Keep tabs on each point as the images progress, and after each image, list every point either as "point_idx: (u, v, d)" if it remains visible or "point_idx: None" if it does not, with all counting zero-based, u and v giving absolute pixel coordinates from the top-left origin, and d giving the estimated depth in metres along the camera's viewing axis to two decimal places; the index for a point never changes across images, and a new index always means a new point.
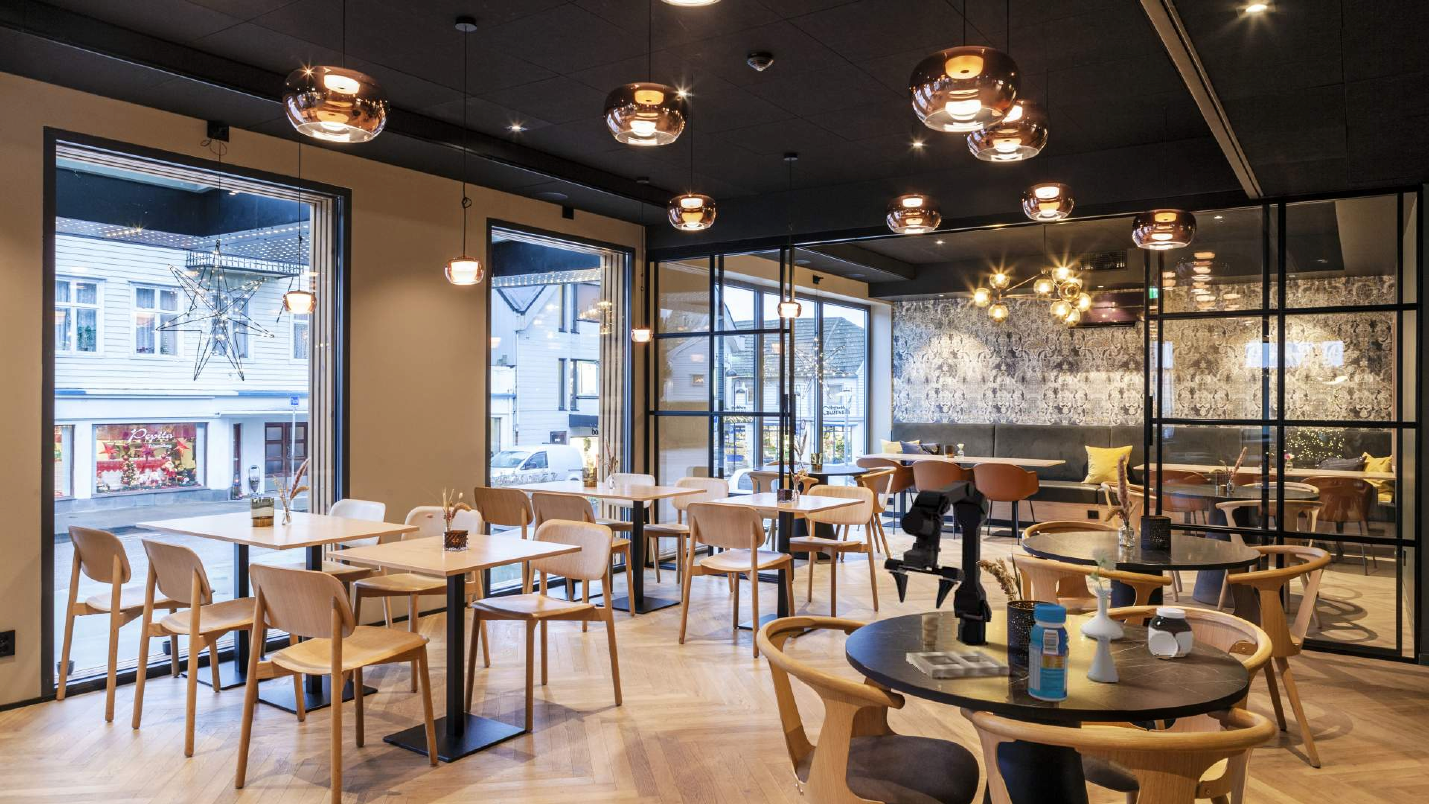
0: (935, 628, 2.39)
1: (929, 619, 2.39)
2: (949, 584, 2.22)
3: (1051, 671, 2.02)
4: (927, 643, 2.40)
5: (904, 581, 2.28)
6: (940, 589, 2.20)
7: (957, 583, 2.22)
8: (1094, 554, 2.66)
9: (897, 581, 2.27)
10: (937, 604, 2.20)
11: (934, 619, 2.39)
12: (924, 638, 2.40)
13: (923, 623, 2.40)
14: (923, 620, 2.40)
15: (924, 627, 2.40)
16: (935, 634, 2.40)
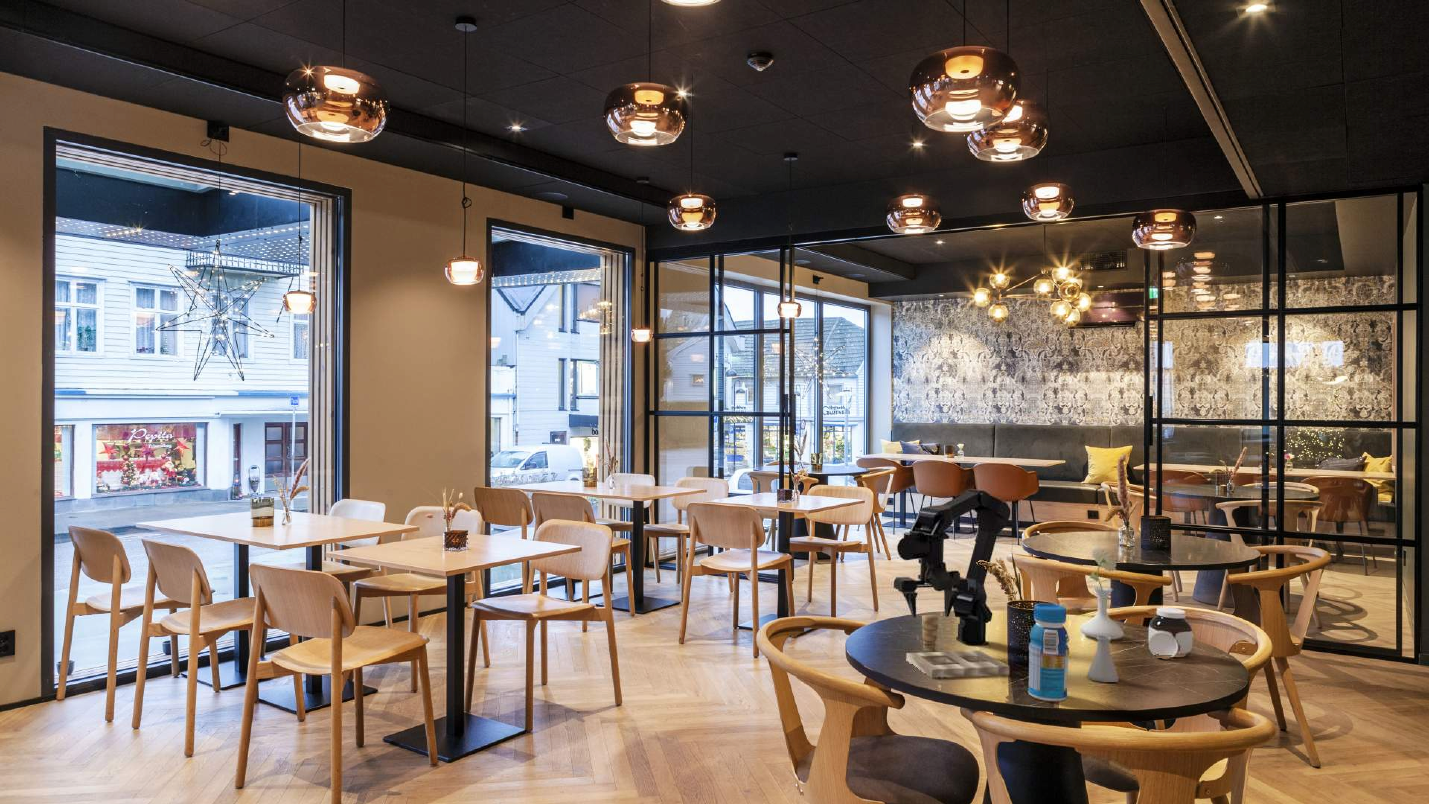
0: (935, 628, 2.39)
1: (929, 619, 2.39)
2: None
3: (1051, 671, 2.02)
4: (927, 643, 2.40)
5: None
6: (952, 600, 2.41)
7: None
8: (1094, 554, 2.66)
9: (912, 600, 2.38)
10: (948, 613, 2.41)
11: (934, 619, 2.39)
12: (924, 638, 2.40)
13: (923, 623, 2.40)
14: (923, 620, 2.40)
15: (924, 627, 2.40)
16: (935, 634, 2.40)
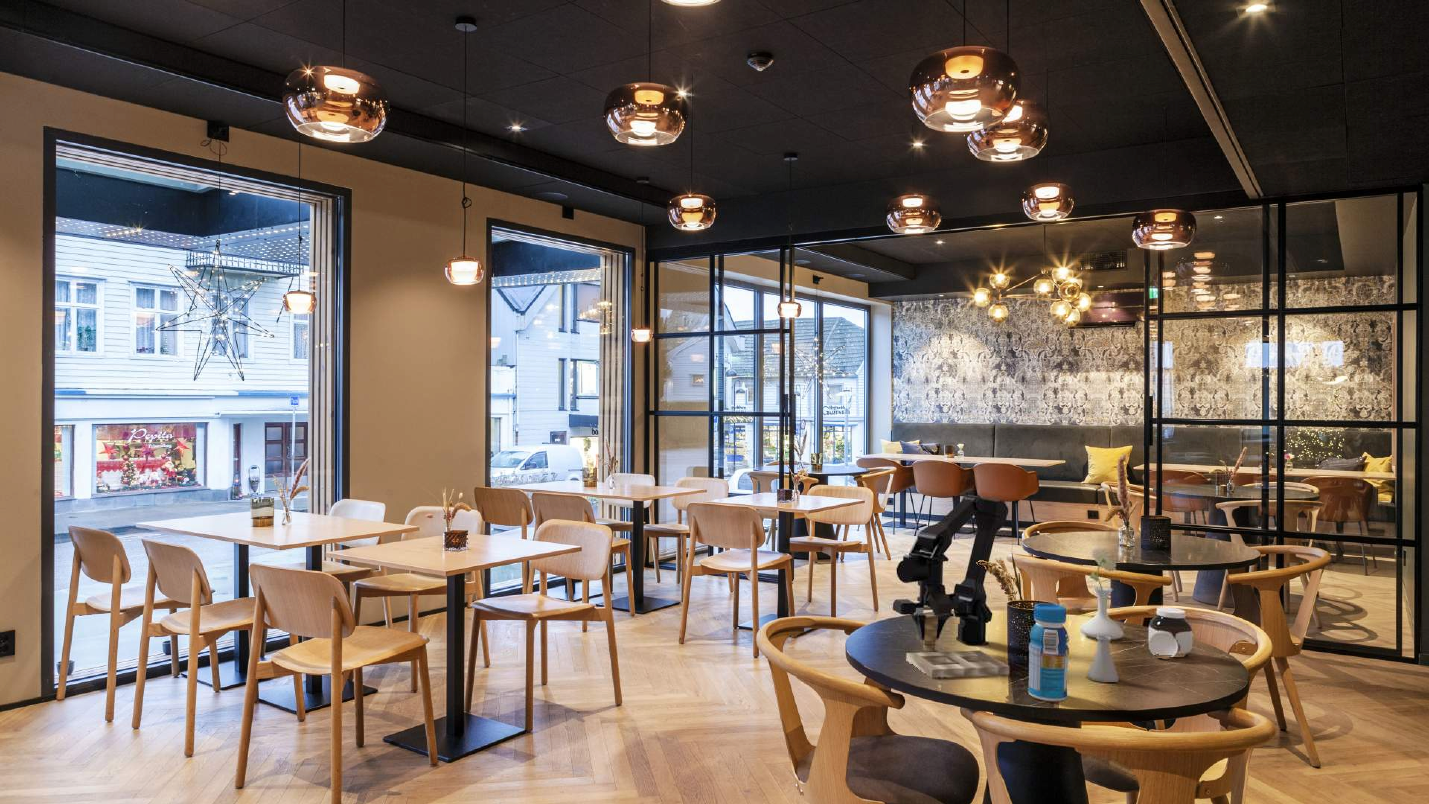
0: (935, 628, 2.39)
1: (929, 619, 2.39)
2: None
3: (1051, 671, 2.02)
4: (927, 643, 2.40)
5: None
6: (942, 622, 2.40)
7: None
8: (1094, 554, 2.66)
9: (921, 622, 2.39)
10: (938, 636, 2.41)
11: (934, 619, 2.39)
12: (924, 638, 2.40)
13: None
14: None
15: (924, 627, 2.40)
16: (935, 634, 2.40)
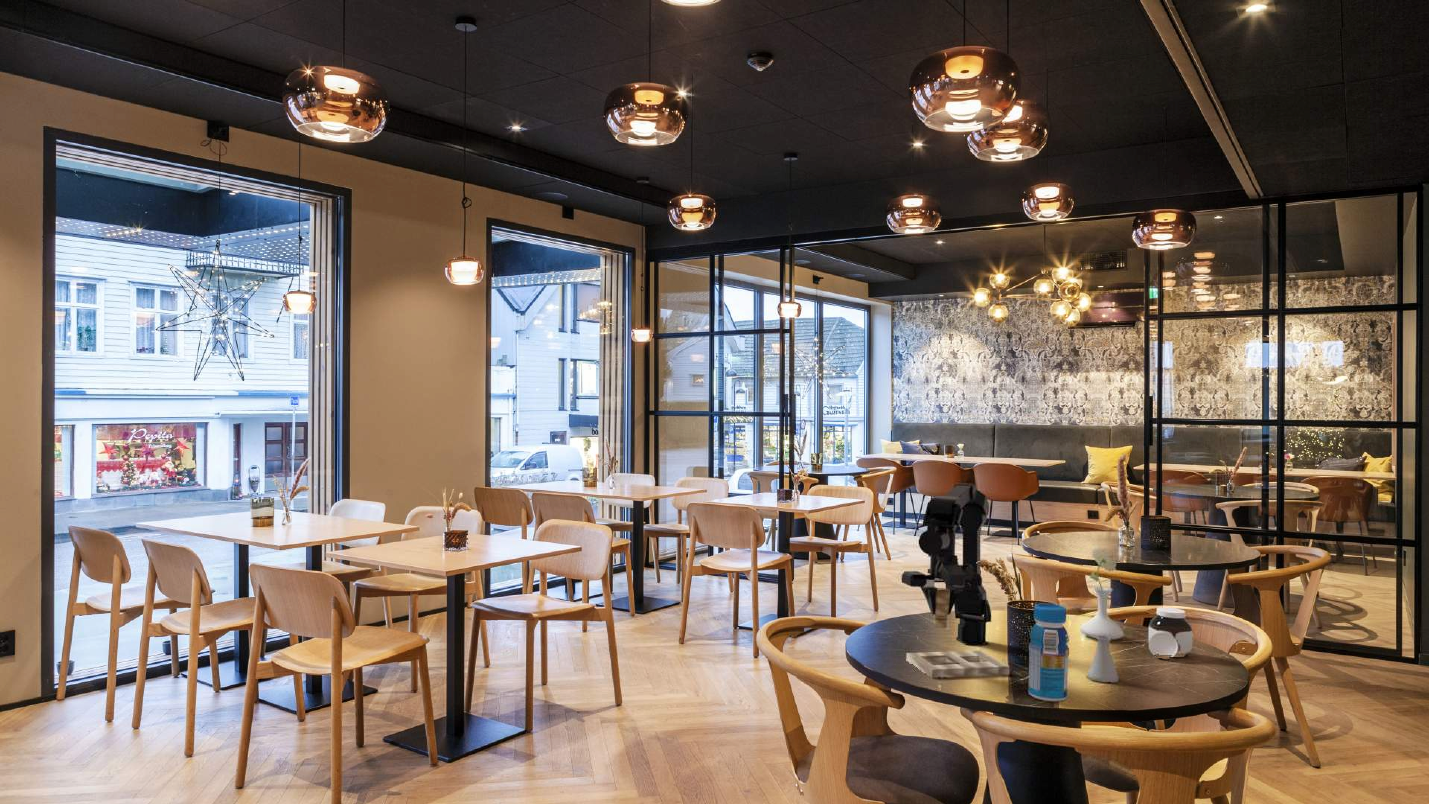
0: (947, 602, 2.24)
1: (940, 592, 2.23)
2: None
3: (1051, 671, 2.02)
4: (938, 618, 2.24)
5: None
6: (954, 596, 2.25)
7: None
8: (1094, 554, 2.66)
9: (931, 595, 2.23)
10: (950, 610, 2.25)
11: (946, 592, 2.23)
12: (935, 612, 2.24)
13: None
14: None
15: (935, 600, 2.24)
16: (947, 608, 2.24)
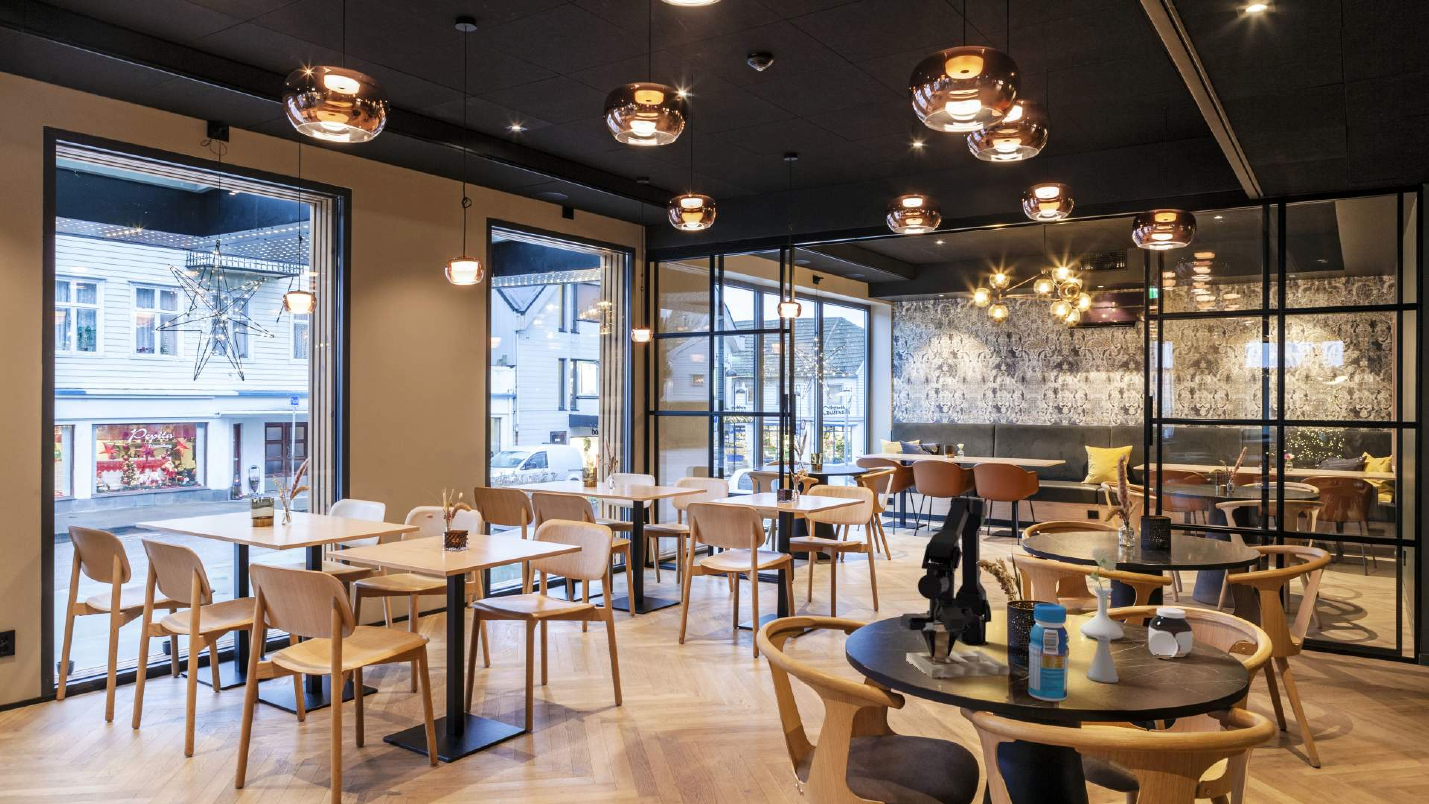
0: (946, 644, 2.24)
1: (940, 634, 2.23)
2: None
3: (1051, 671, 2.02)
4: (937, 660, 2.24)
5: None
6: (953, 638, 2.25)
7: None
8: (1094, 554, 2.66)
9: (931, 638, 2.23)
10: (949, 652, 2.25)
11: (945, 635, 2.23)
12: (934, 655, 2.24)
13: None
14: None
15: None
16: (946, 650, 2.24)
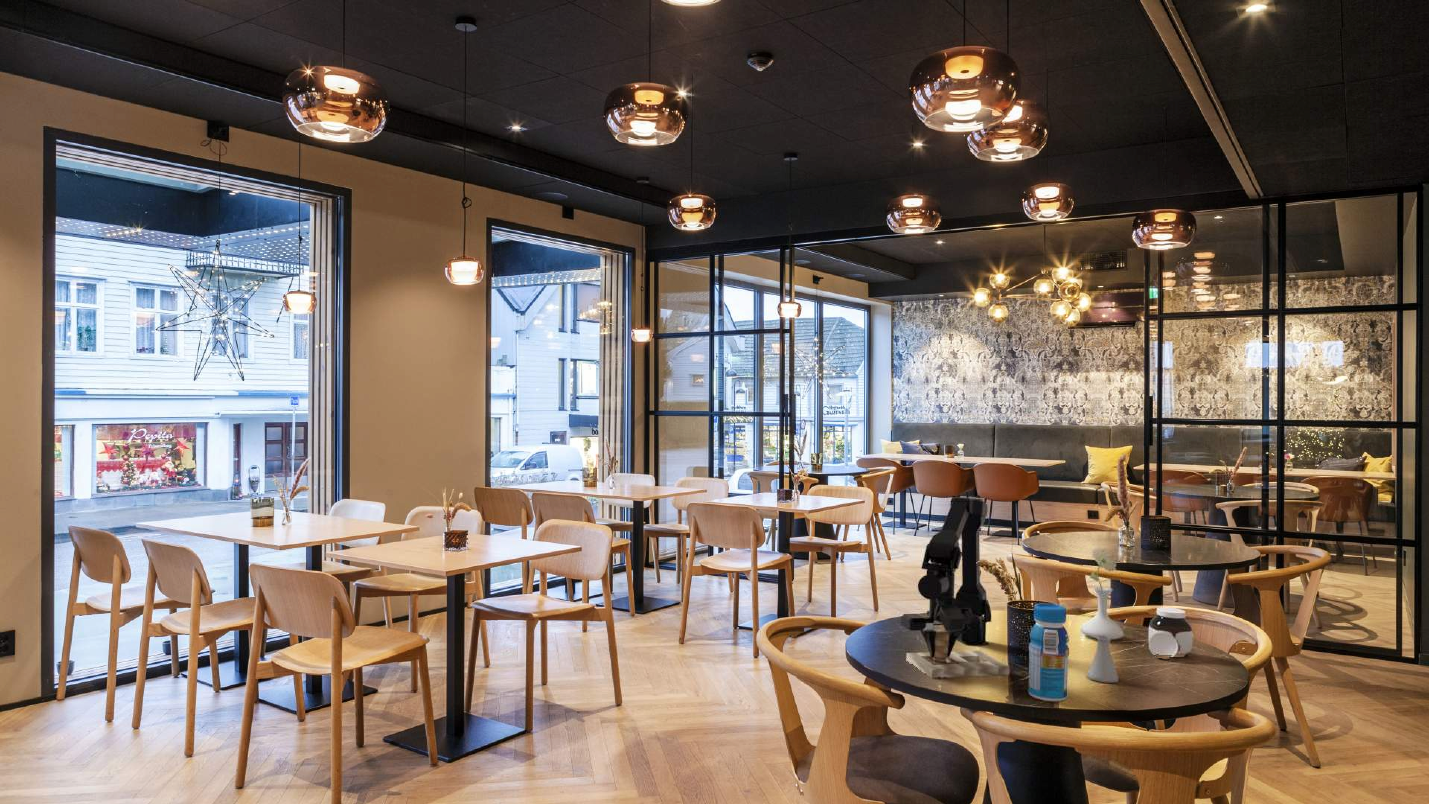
0: (946, 644, 2.24)
1: (940, 634, 2.23)
2: None
3: (1051, 671, 2.02)
4: (937, 660, 2.24)
5: None
6: (953, 638, 2.25)
7: None
8: (1094, 554, 2.66)
9: (931, 638, 2.23)
10: (949, 653, 2.25)
11: (945, 635, 2.23)
12: (934, 655, 2.24)
13: None
14: None
15: None
16: (946, 650, 2.24)
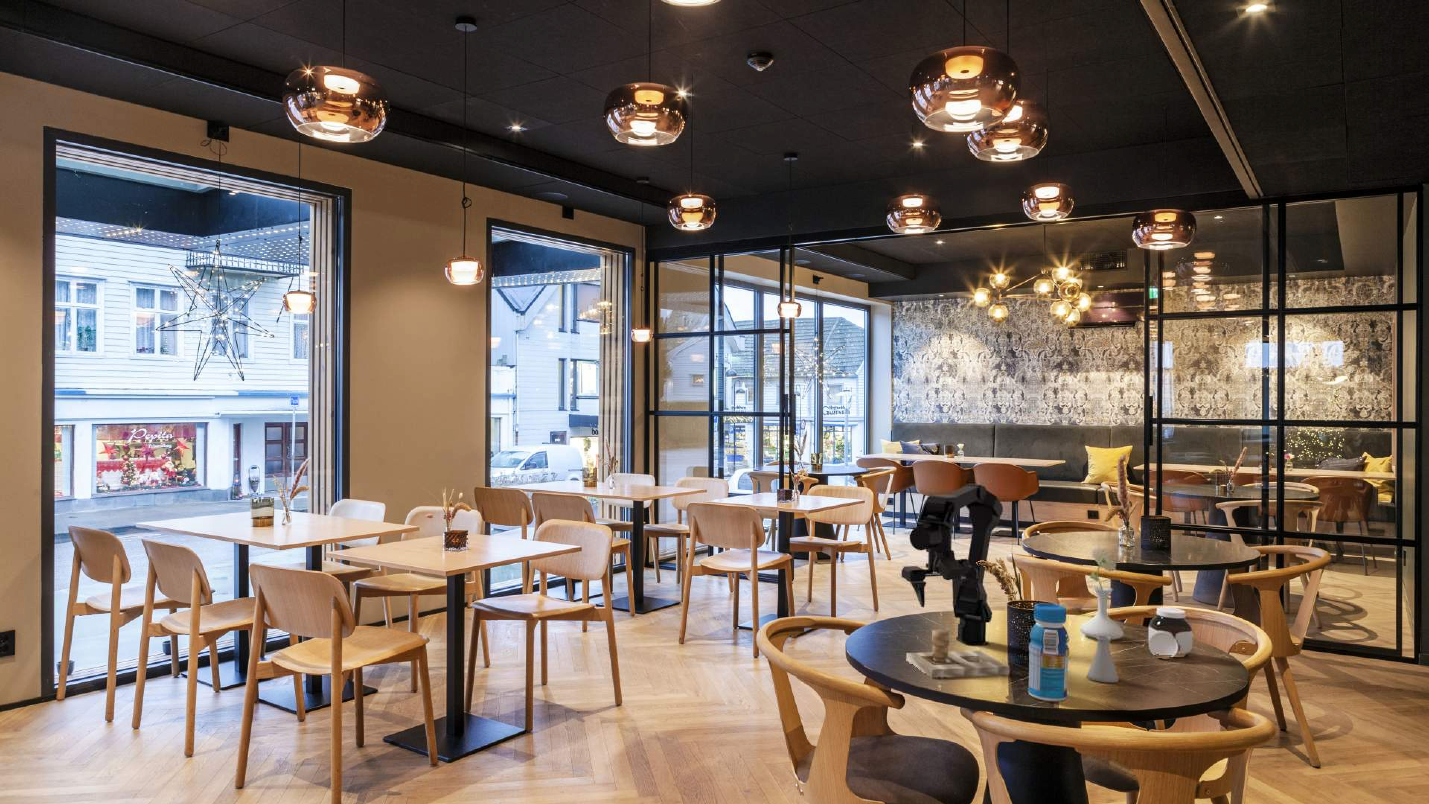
0: (946, 644, 2.24)
1: (940, 634, 2.23)
2: None
3: (1051, 671, 2.02)
4: (937, 660, 2.24)
5: None
6: (961, 588, 2.37)
7: None
8: (1094, 554, 2.66)
9: (921, 589, 2.34)
10: (957, 602, 2.38)
11: (945, 635, 2.23)
12: (934, 655, 2.24)
13: (933, 639, 2.25)
14: (933, 635, 2.25)
15: (934, 643, 2.24)
16: (946, 650, 2.24)
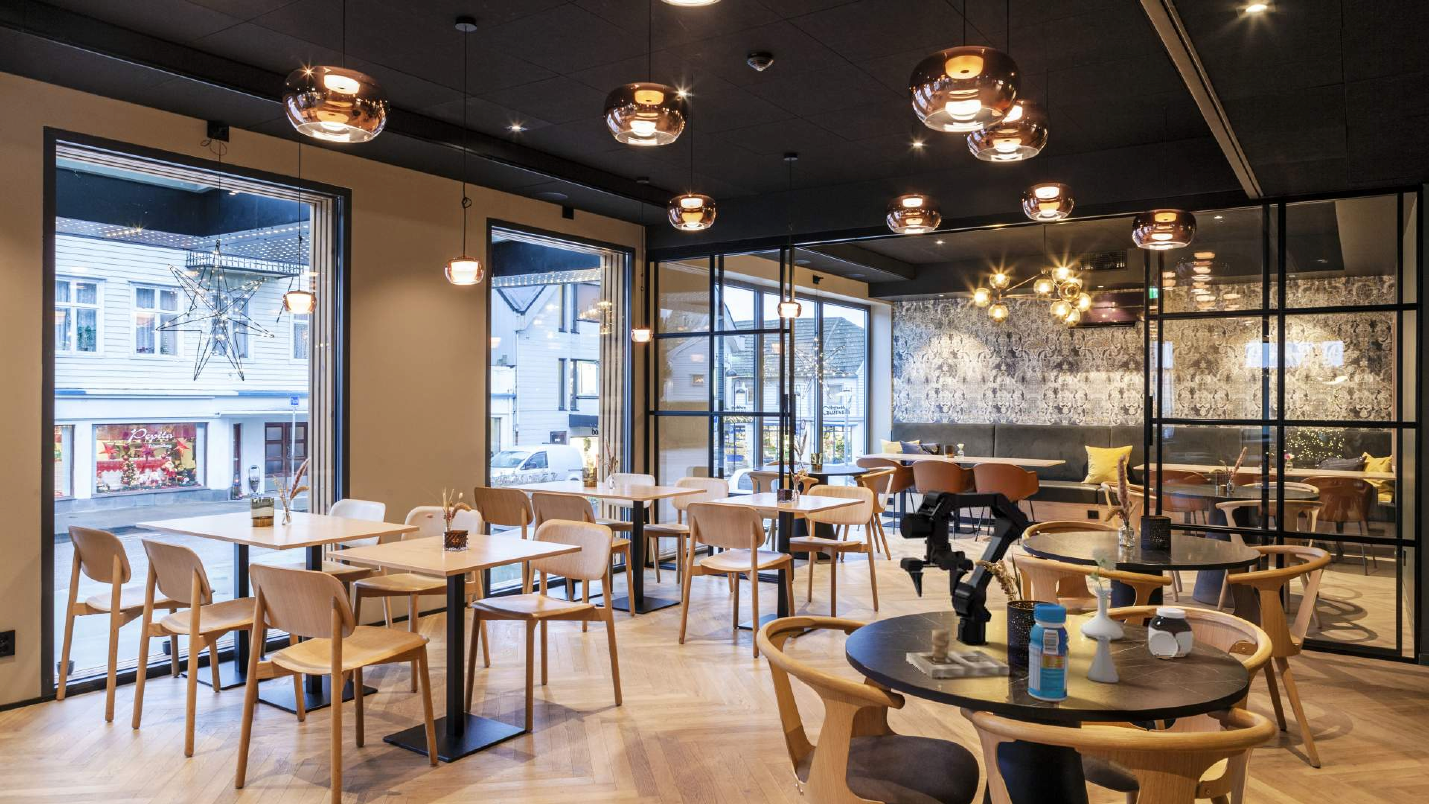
0: (946, 644, 2.24)
1: (940, 634, 2.23)
2: None
3: (1051, 671, 2.02)
4: (937, 660, 2.24)
5: None
6: (957, 580, 2.46)
7: None
8: (1094, 554, 2.66)
9: (918, 579, 2.44)
10: (953, 593, 2.47)
11: (945, 635, 2.23)
12: (934, 655, 2.24)
13: (933, 639, 2.25)
14: (933, 635, 2.25)
15: (934, 643, 2.24)
16: (946, 650, 2.24)
